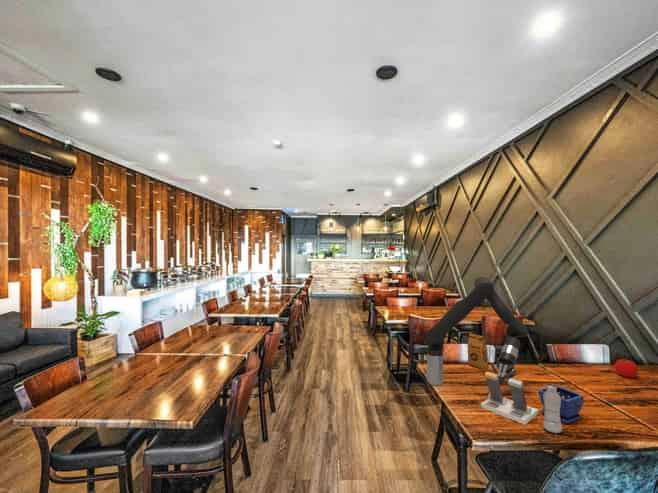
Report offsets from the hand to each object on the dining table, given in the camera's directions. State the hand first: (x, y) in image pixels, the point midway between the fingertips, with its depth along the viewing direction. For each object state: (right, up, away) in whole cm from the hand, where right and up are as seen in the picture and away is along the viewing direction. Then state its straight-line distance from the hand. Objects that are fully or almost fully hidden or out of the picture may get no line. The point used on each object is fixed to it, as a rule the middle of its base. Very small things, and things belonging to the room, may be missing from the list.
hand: (499, 384), depth 153 cm
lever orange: (-1, -8, 0) cm, 8 cm away
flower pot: (+23, -11, -11) cm, 28 cm away
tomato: (+102, -12, +36) cm, 109 cm away
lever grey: (+6, -8, -9) cm, 13 cm away
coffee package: (+17, -13, +55) cm, 59 cm away
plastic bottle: (+11, -10, -22) cm, 27 cm away
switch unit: (+2, -11, -5) cm, 12 cm away
